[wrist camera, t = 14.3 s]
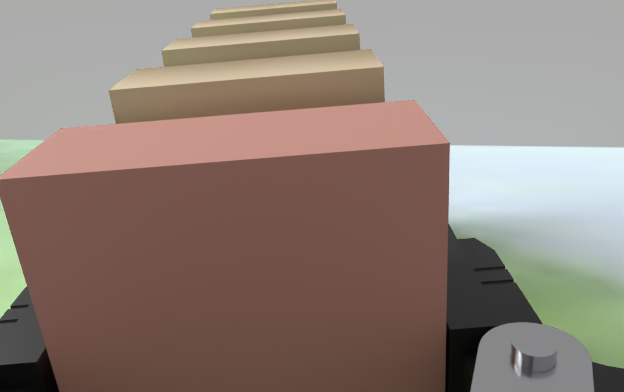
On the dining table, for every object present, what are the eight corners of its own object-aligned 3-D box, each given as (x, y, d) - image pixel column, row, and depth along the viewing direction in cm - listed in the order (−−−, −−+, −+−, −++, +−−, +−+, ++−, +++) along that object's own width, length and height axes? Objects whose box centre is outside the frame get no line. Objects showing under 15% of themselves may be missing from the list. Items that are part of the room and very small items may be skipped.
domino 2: (397, 473, 15) (383, 66, 11) (195, 488, 15) (108, 90, 11) (385, 414, 16) (370, 49, 12) (207, 428, 16) (136, 69, 13)
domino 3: (375, 356, 19) (359, 33, 15) (218, 369, 19) (161, 50, 15) (367, 319, 20) (352, 24, 17) (225, 331, 21) (176, 38, 17)
